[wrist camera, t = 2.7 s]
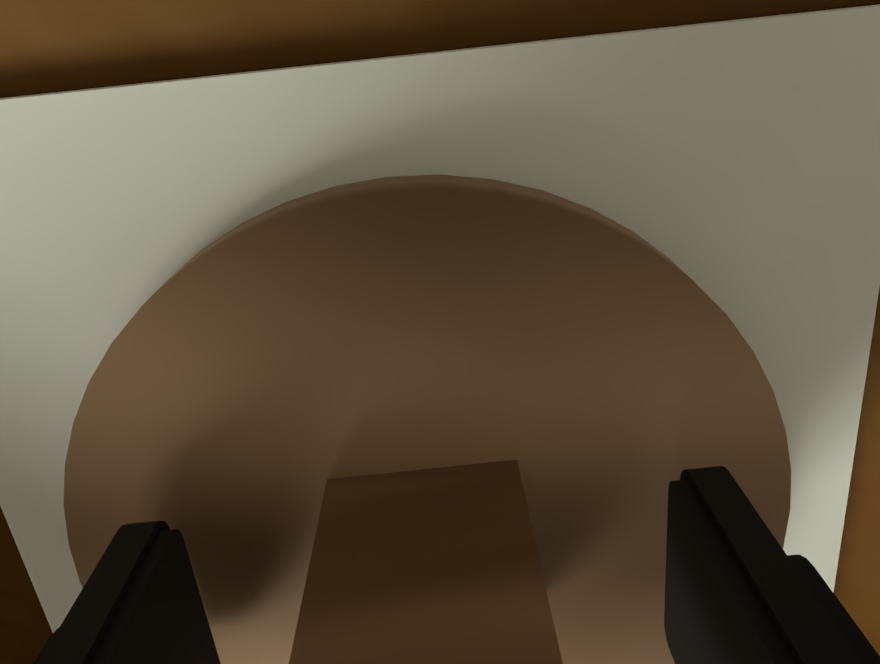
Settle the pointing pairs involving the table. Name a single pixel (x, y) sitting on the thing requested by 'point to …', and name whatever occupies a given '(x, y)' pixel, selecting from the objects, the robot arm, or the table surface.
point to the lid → (423, 428)
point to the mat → (469, 155)
